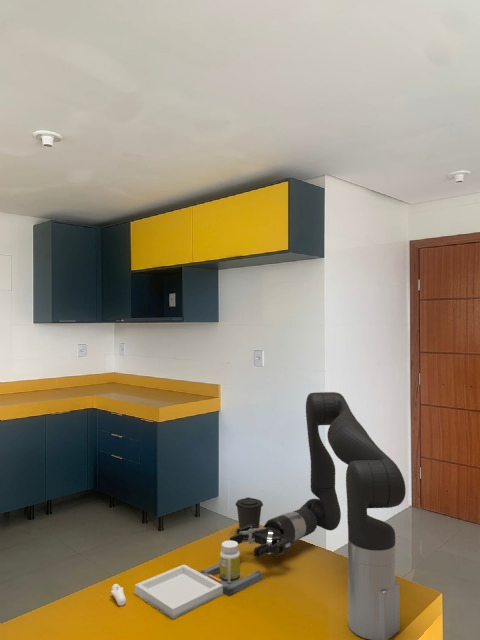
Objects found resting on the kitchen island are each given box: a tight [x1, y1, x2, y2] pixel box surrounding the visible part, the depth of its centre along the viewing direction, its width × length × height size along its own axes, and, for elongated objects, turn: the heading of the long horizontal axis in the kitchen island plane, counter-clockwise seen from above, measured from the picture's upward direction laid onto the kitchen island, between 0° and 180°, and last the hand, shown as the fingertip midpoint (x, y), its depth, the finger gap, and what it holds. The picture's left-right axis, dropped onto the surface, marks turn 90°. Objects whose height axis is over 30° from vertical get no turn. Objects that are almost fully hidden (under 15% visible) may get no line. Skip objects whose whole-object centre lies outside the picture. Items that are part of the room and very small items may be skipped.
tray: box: [134, 564, 224, 620], centre depth 114 cm, size 14×14×2 cm
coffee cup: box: [235, 497, 264, 539], centre depth 147 cm, size 8×8×10 cm
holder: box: [198, 562, 263, 597], centre depth 121 cm, size 11×11×2 cm
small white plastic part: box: [110, 583, 127, 607], centre depth 111 cm, size 4×6×3 cm, turn 6°
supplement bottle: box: [219, 539, 241, 584], centre depth 121 cm, size 5×5×8 cm
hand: (242, 547), depth 124 cm, fingers open, 8 cm apart
